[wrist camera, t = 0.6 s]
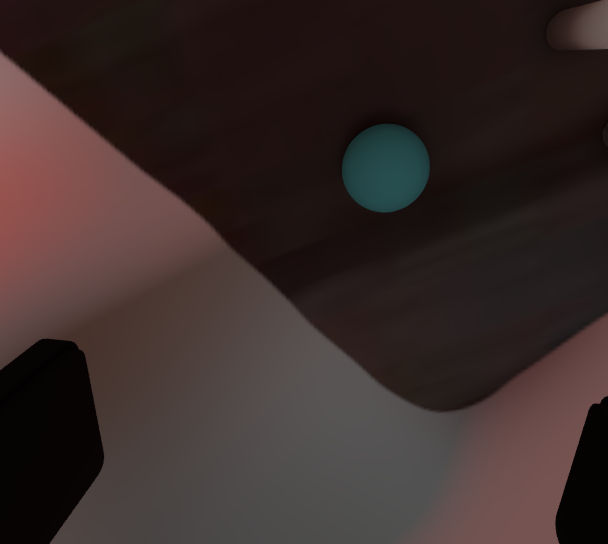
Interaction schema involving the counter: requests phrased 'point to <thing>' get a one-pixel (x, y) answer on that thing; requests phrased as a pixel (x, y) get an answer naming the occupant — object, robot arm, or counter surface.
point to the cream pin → (580, 27)
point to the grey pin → (605, 135)
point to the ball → (385, 167)
